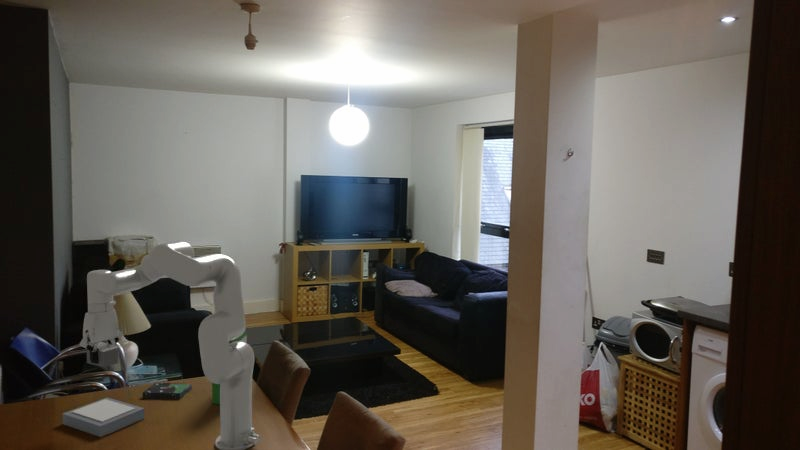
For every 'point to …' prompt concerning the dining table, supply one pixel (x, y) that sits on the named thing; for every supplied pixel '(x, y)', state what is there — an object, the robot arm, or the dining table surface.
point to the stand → (103, 416)
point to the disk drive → (167, 390)
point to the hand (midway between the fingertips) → (102, 360)
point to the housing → (105, 354)
